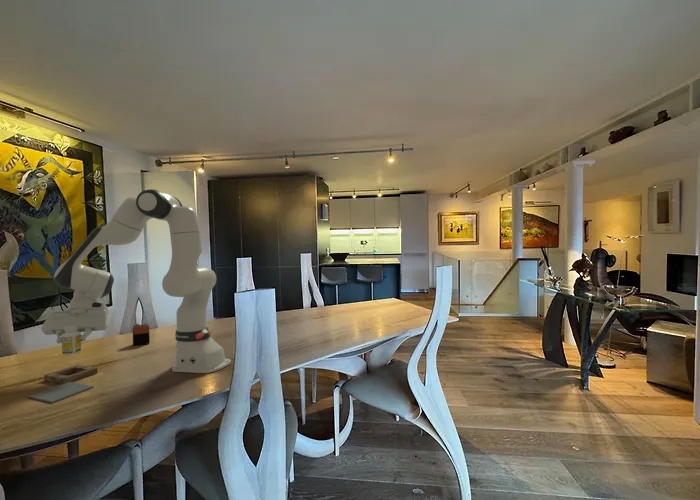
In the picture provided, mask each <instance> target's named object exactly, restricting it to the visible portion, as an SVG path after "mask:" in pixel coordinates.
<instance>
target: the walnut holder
mask: <svg viewBox="0 0 700 500" xmlns="http://www.w3.org/2000/svg"><path fill="white" fill-rule="evenodd" d="M98 373H99V372H98V367H94V366H93V367H92V366H88V365H87V366H86V365H82V364H77V365H72V366H70V367H66V368H63V369H60V370H57V371H53V372H50V373H46V374H44V375H43V376H44V377H43V378H44V380H43V381H46V382H50V383H55V384H59V385H62V384H65V383H68V382H76V381H78V380H82V379H85V378H88V377H90V376H93V375H96V374H98Z"/></svg>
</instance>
